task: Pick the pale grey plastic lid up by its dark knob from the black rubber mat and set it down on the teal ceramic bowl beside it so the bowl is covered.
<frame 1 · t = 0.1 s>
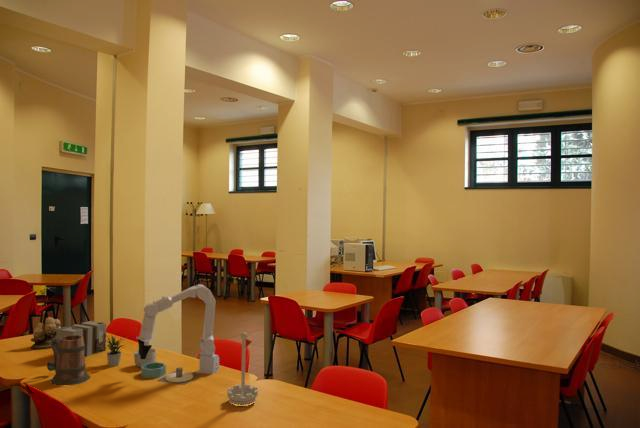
hand: (141, 356, 237), 11 cm above the table, tool pointing down, fingers open, 7 cm apart
bowl: (153, 375, 242), on the table
lid: (179, 377, 238), resting on mat
tankard: (65, 378, 234), on the table
mat: (179, 378, 238), on the table
house plant: (111, 365, 256), on the table
teacup: (146, 365, 257), on the table
owl figurine: (47, 346, 288), on the table
flag stand: (242, 402, 212), on the table
bookend: (81, 354, 274), on the table
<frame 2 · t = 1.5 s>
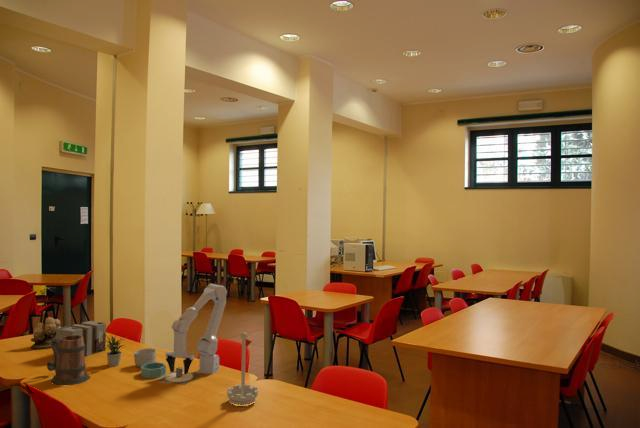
hand: (179, 372, 238), 3 cm above the table, tool pointing down, fingers open, 7 cm apart
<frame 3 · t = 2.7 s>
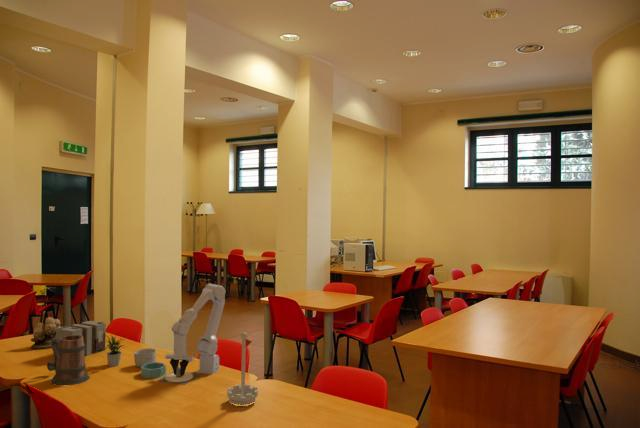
hand: (179, 374, 238), 2 cm above the table, tool pointing down, fingers closed on lid, 3 cm apart
lid: (179, 377, 238), resting on mat, touching gripper
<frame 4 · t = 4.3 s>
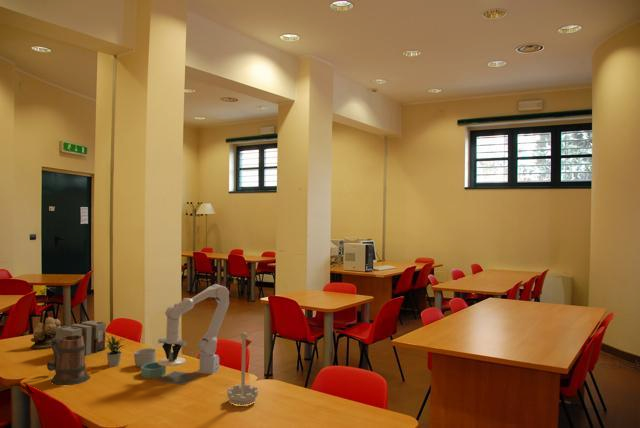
hand: (171, 359, 239), 9 cm above the table, tool pointing down, fingers closed on lid, 3 cm apart
lid: (171, 362, 239), point 8 cm above the table, touching gripper
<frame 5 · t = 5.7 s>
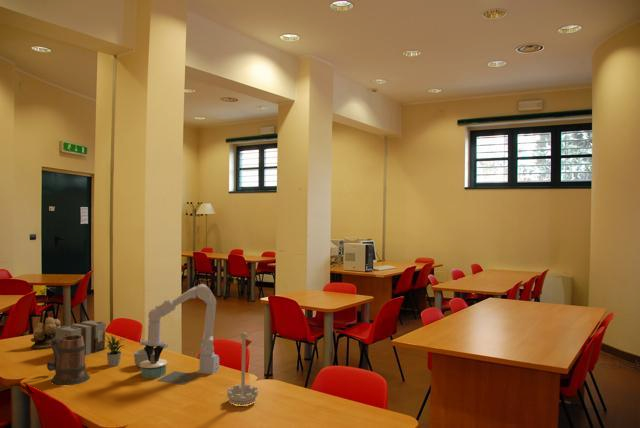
hand: (153, 361, 242), 7 cm above the table, tool pointing down, fingers closed on lid, 3 cm apart
lid: (153, 363, 242), point 5 cm above the table, touching gripper
when the fingers open (7 cm above the table, at t = 6.0 s): lid stays where it is, resting on bowl.
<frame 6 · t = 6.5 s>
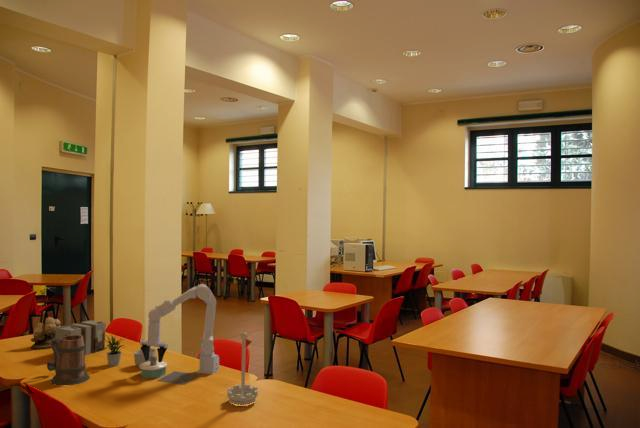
hand: (153, 361, 242), 7 cm above the table, tool pointing down, fingers open, 7 cm apart
lid: (153, 365, 242), point 4 cm above the table, touching bowl
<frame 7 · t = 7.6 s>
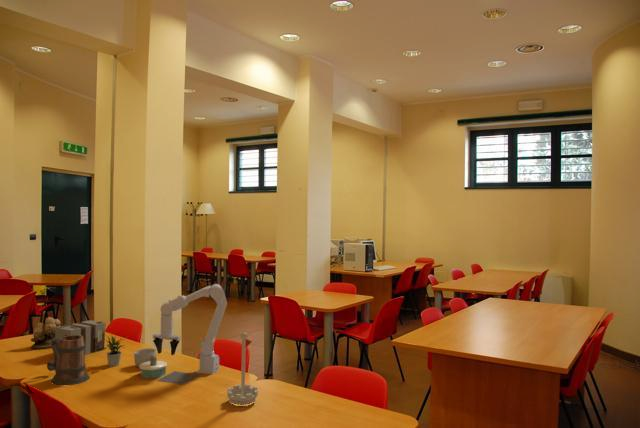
hand: (166, 353, 245), 10 cm above the table, tool pointing down, fingers open, 7 cm apart
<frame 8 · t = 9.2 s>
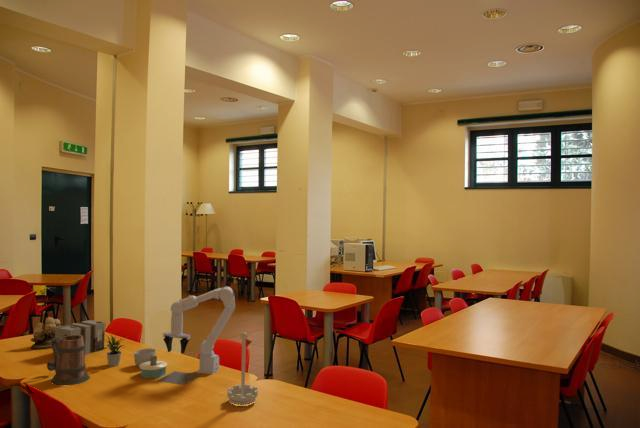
hand: (176, 352, 248), 10 cm above the table, tool pointing down, fingers open, 7 cm apart
at the end: lid 0.1 cm off-centre on the bowl, point 4.5 cm above the bowl's base; lid tilted 0°; the gripper is holding nothing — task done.
